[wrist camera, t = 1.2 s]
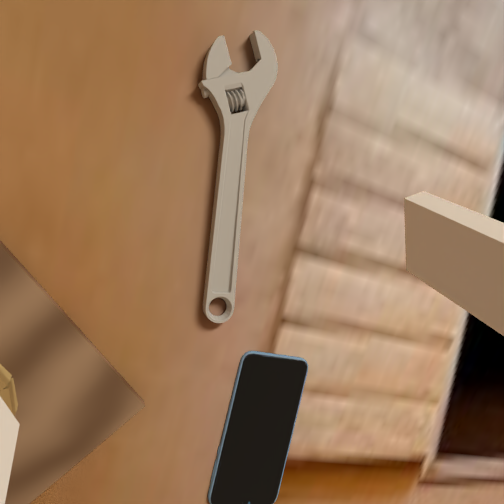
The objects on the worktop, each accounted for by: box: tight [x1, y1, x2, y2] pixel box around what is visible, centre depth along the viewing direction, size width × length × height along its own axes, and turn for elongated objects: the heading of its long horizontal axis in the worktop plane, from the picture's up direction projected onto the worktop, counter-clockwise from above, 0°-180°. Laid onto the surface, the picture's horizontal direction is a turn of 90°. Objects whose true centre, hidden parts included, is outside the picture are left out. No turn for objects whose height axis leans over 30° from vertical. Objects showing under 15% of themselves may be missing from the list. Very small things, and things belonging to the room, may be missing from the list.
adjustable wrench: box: [198, 30, 278, 323], centre depth 36 cm, size 25×6×2 cm, turn 170°
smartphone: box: [208, 351, 308, 504], centre depth 41 cm, size 7×1×15 cm
